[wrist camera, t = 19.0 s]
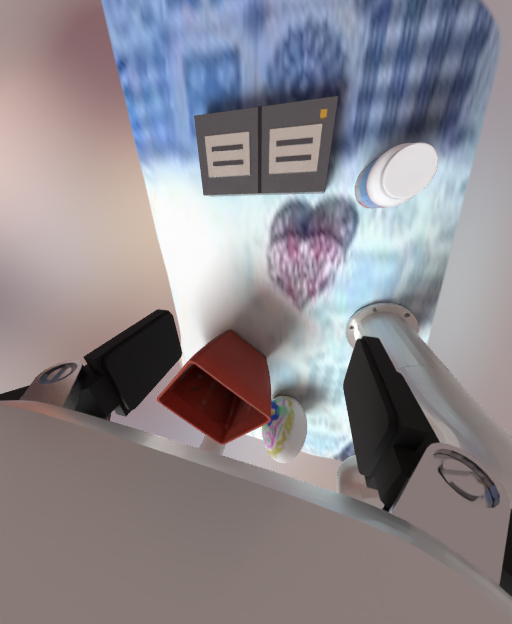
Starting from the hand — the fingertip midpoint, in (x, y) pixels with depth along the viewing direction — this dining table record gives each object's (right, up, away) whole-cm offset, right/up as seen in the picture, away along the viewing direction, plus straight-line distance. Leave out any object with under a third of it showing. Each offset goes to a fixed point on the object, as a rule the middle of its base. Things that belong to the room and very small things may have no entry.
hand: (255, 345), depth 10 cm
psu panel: (+1, +27, +21) cm, 34 cm away
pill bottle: (+18, +21, +19) cm, 34 cm away
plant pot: (-5, -10, +43) cm, 45 cm away
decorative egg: (+9, -26, +47) cm, 55 cm away
